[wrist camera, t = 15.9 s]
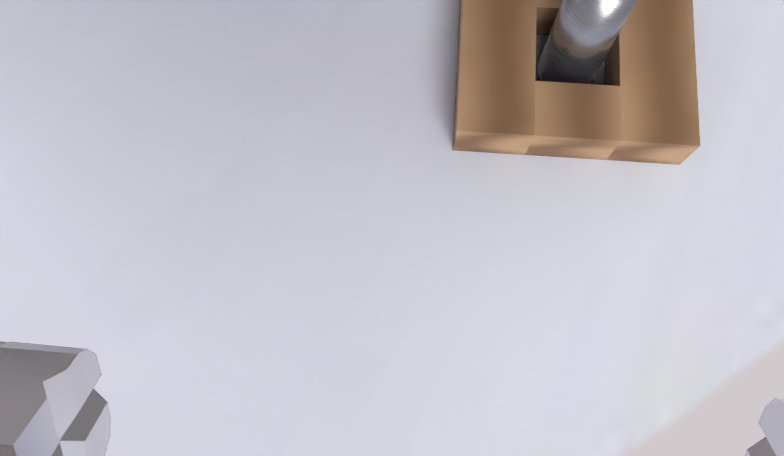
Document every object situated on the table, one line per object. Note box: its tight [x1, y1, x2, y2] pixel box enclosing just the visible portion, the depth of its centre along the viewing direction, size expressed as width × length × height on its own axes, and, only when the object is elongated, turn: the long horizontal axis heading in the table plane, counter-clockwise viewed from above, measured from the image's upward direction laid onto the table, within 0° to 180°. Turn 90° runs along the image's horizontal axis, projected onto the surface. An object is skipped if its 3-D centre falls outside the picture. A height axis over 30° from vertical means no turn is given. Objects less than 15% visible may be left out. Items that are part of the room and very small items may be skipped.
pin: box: [537, 0, 637, 84], centre depth 40 cm, size 4×4×10 cm
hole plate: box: [453, 0, 700, 164], centre depth 43 cm, size 14×12×3 cm
